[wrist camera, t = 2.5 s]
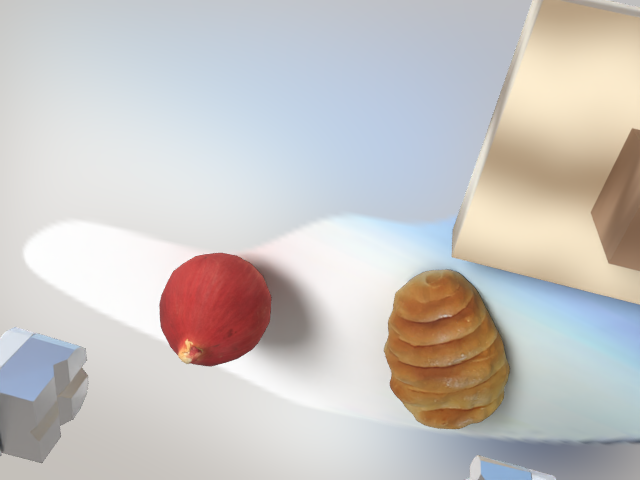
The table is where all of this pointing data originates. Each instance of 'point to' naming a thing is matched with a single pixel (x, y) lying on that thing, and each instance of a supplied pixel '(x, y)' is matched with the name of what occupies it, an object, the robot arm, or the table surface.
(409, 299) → the pastry
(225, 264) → the onion
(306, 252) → the table surface
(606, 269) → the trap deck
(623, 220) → the walnut block
